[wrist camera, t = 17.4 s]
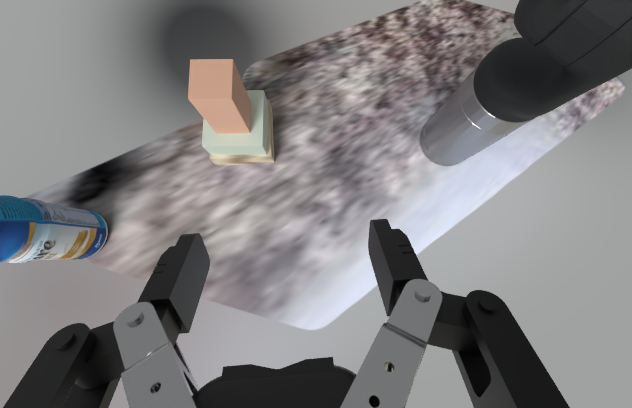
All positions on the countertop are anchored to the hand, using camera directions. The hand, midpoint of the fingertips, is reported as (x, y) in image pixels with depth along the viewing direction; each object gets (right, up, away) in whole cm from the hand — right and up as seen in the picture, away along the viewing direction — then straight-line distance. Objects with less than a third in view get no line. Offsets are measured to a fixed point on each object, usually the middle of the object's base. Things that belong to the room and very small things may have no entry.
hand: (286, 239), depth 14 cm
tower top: (-11, +14, +34) cm, 38 cm away
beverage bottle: (-37, -3, +34) cm, 51 cm away
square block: (-11, +15, +30) cm, 35 cm away
